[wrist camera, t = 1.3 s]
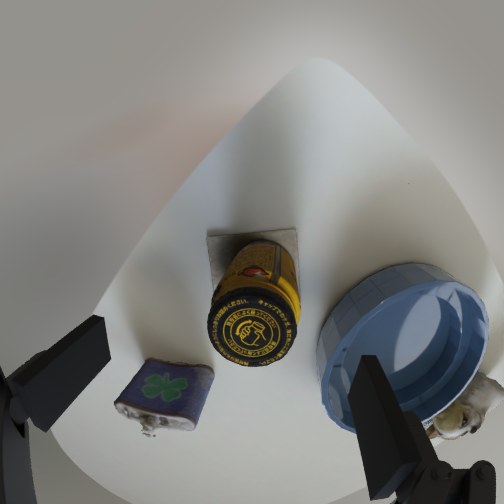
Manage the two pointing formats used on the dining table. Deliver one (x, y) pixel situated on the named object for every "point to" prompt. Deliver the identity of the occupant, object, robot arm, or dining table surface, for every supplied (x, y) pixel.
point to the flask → (166, 395)
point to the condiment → (254, 296)
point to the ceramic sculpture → (467, 409)
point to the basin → (404, 339)
